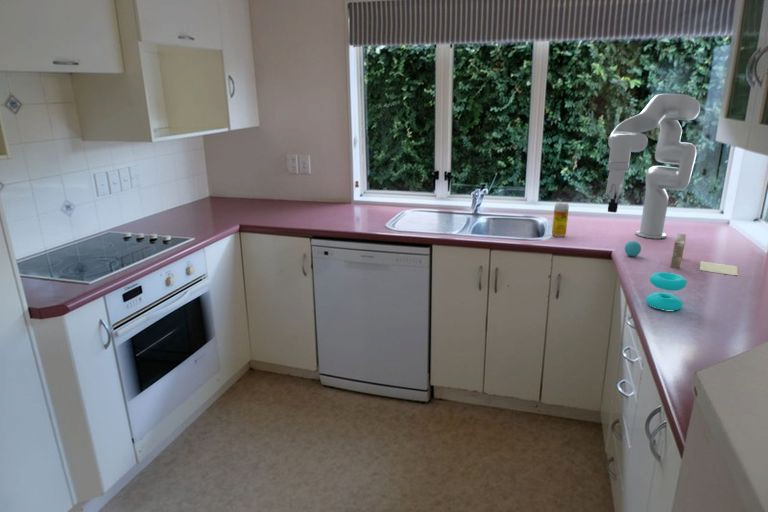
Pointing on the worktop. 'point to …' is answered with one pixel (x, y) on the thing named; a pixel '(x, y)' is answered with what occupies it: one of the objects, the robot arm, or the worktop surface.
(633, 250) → the ball
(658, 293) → the donuts
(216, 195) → the worktop surface
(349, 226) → the worktop surface
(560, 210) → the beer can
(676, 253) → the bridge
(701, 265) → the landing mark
